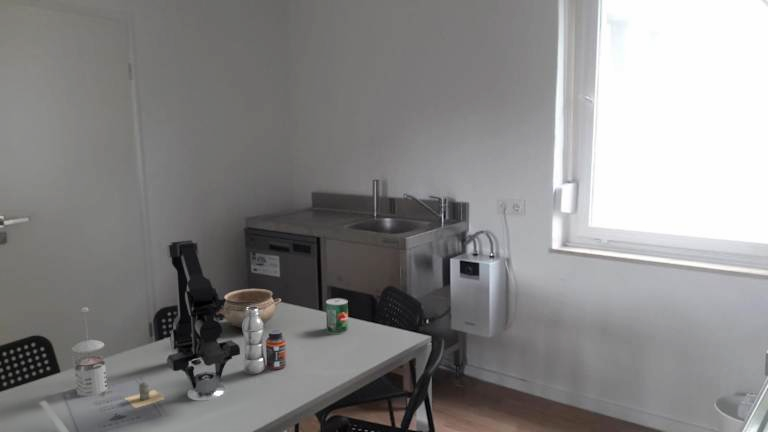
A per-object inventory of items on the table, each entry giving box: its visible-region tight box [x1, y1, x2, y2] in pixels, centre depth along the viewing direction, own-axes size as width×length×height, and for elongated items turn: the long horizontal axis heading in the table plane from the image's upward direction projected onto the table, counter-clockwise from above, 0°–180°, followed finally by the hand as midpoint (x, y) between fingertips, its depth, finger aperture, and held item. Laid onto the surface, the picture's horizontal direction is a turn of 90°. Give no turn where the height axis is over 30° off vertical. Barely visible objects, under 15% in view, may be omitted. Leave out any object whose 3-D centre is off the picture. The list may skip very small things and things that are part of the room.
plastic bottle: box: [241, 307, 266, 375], centre depth 178 cm, size 6×7×20 cm
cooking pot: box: [217, 288, 282, 329], centre depth 220 cm, size 25×19×12 cm
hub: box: [187, 375, 226, 402], centre depth 164 cm, size 10×10×6 cm
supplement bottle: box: [265, 329, 287, 371], centre depth 183 cm, size 6×6×11 cm
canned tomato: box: [325, 297, 349, 335], centre depth 215 cm, size 8×8×11 cm
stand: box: [124, 381, 166, 409], centre depth 160 cm, size 8×8×6 cm
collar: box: [192, 371, 221, 393], centre depth 164 cm, size 7×7×3 cm
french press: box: [71, 306, 108, 397], centre depth 166 cm, size 10×12×25 cm
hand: (206, 384), depth 164 cm, fingers closed on collar, 7 cm apart
